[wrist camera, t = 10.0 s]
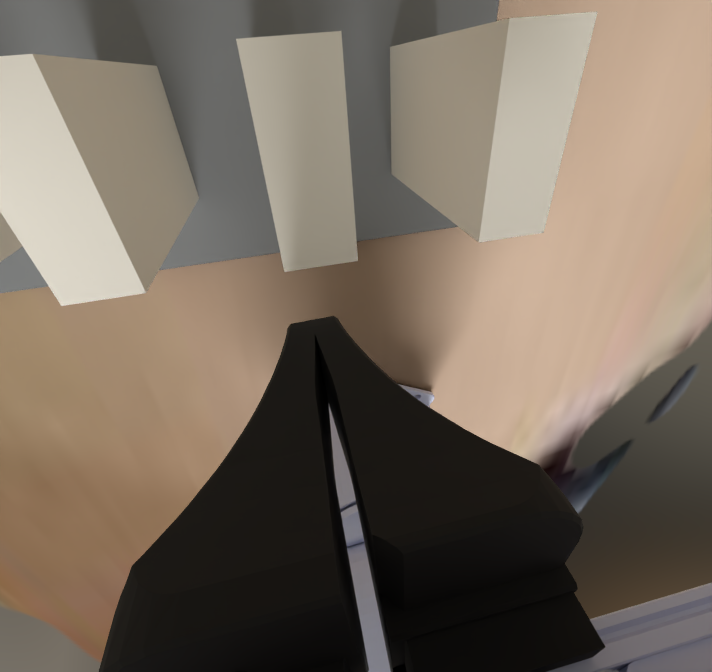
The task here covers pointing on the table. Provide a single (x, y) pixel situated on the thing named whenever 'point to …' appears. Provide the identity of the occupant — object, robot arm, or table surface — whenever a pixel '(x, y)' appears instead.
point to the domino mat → (244, 101)
